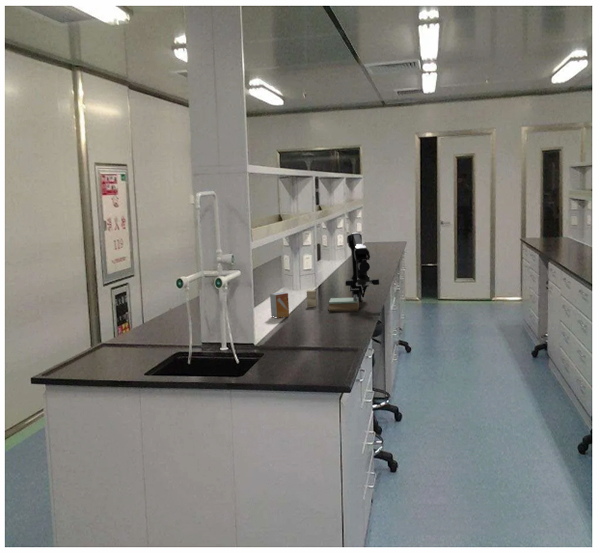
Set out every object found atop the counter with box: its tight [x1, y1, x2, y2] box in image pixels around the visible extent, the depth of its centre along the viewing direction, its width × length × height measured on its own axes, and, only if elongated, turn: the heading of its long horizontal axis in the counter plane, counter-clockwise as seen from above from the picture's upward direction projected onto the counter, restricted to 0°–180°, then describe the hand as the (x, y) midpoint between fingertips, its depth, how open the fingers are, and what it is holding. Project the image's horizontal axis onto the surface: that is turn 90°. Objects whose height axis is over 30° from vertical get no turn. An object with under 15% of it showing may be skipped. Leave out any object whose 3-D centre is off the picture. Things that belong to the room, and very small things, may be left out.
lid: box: [328, 295, 359, 305], centre depth 335 cm, size 12×16×3 cm
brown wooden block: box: [306, 289, 318, 308], centre depth 350 cm, size 4×5×9 cm
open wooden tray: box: [328, 300, 360, 312], centre depth 336 cm, size 12×16×4 cm
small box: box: [269, 291, 290, 319], centre depth 325 cm, size 8×6×13 cm
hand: (363, 297), depth 334 cm, fingers closed
